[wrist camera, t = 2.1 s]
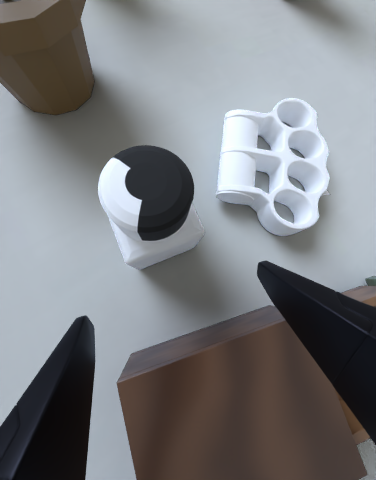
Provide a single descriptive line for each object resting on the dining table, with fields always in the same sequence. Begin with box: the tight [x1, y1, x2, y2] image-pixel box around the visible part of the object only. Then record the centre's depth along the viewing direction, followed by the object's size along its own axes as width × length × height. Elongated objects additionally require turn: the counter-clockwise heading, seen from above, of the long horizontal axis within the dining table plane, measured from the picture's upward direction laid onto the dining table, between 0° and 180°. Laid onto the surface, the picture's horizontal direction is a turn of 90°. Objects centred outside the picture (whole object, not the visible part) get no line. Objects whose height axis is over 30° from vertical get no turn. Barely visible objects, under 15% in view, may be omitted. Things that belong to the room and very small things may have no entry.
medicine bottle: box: [98, 145, 205, 270], centre depth 18 cm, size 7×7×12 cm
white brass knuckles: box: [216, 98, 330, 236], centre depth 25 cm, size 3×18×15 cm
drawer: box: [334, 276, 376, 445], centre depth 20 cm, size 20×11×5 cm, turn 106°
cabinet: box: [117, 305, 367, 480], centre depth 18 cm, size 16×12×6 cm
